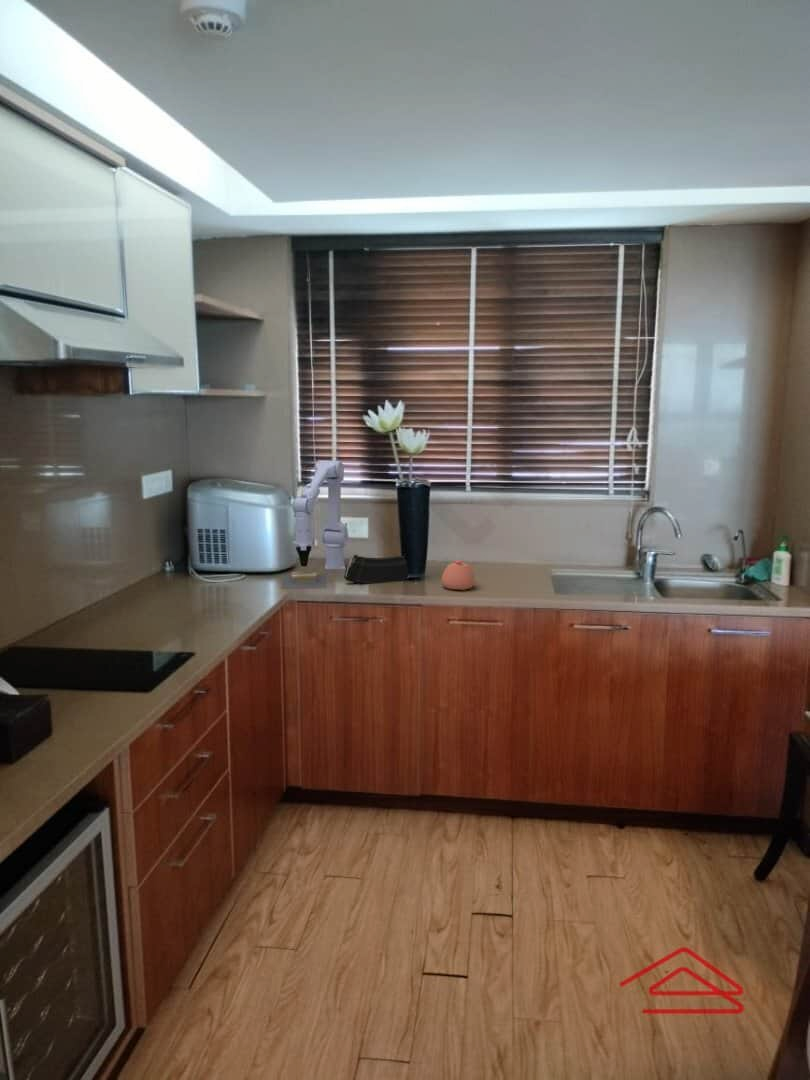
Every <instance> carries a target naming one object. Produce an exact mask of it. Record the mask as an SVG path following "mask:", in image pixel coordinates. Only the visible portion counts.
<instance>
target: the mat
mask: <svg viewBox="0 0 810 1080" xmlns="http://www.w3.org/2000/svg"><path fill="white" fill-rule="evenodd" d="M280 589H281V590H294V589H295V590H297V589H299V590H300V589H308V590H309V589H327V577H326V574H316V583H292V574H284V575H283V578H282V581H281V588H280Z"/></svg>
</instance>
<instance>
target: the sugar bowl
mask: <svg viewBox="0 0 810 1080" xmlns="http://www.w3.org/2000/svg"><path fill="white" fill-rule="evenodd" d="M441 584H442V585H443V586H444V588H446V589H447V590H449V591H452V590H459V591H461V590H465V591H466V590H468V589H471V588H473V586H474V585H475V584H476V578H475V574H474V571H473V570H472V568H471V566H470V565H469V564H467V563H464V562H463V560H459V559H458V560H455V562H452V563H448V565H447V566H446V567H445V569H444V570H443V573H442V576H441Z"/></svg>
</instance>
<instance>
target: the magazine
mask: <svg viewBox="0 0 810 1080" xmlns="http://www.w3.org/2000/svg"><path fill="white" fill-rule="evenodd" d="M343 577H344V579H345V581H347V582H352V583H353V584H354V585H356V584H357V583H359V584H382V583H392V582H399V581H405V580H407V579H406V578H407V577H408V567H407V561H406V559H405V556H402V555H397V556H388V557H369V556H367V557H365V556H360V555H359V556H358V554H354V555H353V557H351V558H350V560H349V563H348V565H347V566H345V572H344V575H343Z"/></svg>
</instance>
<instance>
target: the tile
mask: <svg viewBox="0 0 810 1080" xmlns="http://www.w3.org/2000/svg"><path fill="white" fill-rule="evenodd" d="M291 575H292V583H316V575H317V571H292V572H291Z"/></svg>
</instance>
